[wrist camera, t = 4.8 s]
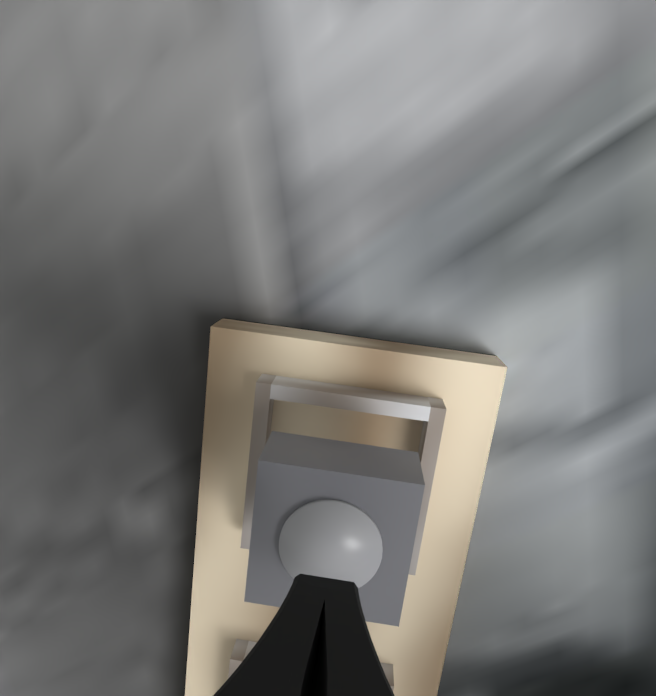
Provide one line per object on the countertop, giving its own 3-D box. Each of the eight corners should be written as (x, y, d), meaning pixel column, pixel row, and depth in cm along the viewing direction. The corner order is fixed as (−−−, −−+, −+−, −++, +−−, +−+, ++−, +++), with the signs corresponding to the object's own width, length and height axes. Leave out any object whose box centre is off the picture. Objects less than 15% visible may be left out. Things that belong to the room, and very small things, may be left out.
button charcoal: (418, 452, 16) (425, 487, 14) (395, 579, 17) (398, 630, 15) (271, 430, 16) (257, 462, 14) (258, 557, 17) (243, 605, 15)
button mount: (496, 356, 19) (515, 376, 17) (407, 782, 24) (412, 845, 21) (222, 318, 19) (201, 332, 17) (190, 744, 24) (170, 802, 22)
